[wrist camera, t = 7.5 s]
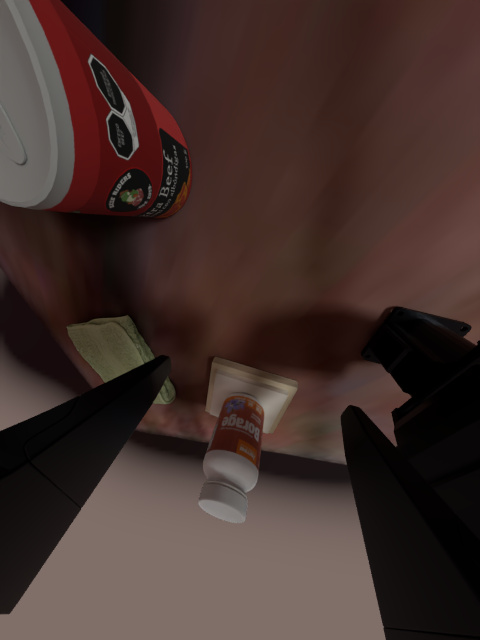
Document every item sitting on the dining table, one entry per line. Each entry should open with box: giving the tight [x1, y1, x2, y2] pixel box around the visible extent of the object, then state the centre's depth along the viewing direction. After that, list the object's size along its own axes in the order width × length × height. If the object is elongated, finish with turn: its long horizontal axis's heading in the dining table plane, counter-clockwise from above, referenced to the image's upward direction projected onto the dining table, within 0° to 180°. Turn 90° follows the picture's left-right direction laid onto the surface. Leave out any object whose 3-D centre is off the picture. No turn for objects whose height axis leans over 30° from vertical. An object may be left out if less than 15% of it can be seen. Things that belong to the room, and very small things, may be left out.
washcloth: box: [67, 315, 176, 404], centre depth 29 cm, size 13×18×3 cm
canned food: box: [0, 0, 192, 218], centre depth 11 cm, size 8×8×11 cm
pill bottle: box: [198, 393, 264, 523], centre depth 21 cm, size 6×6×11 cm
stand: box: [205, 356, 298, 434], centre depth 26 cm, size 12×12×2 cm
